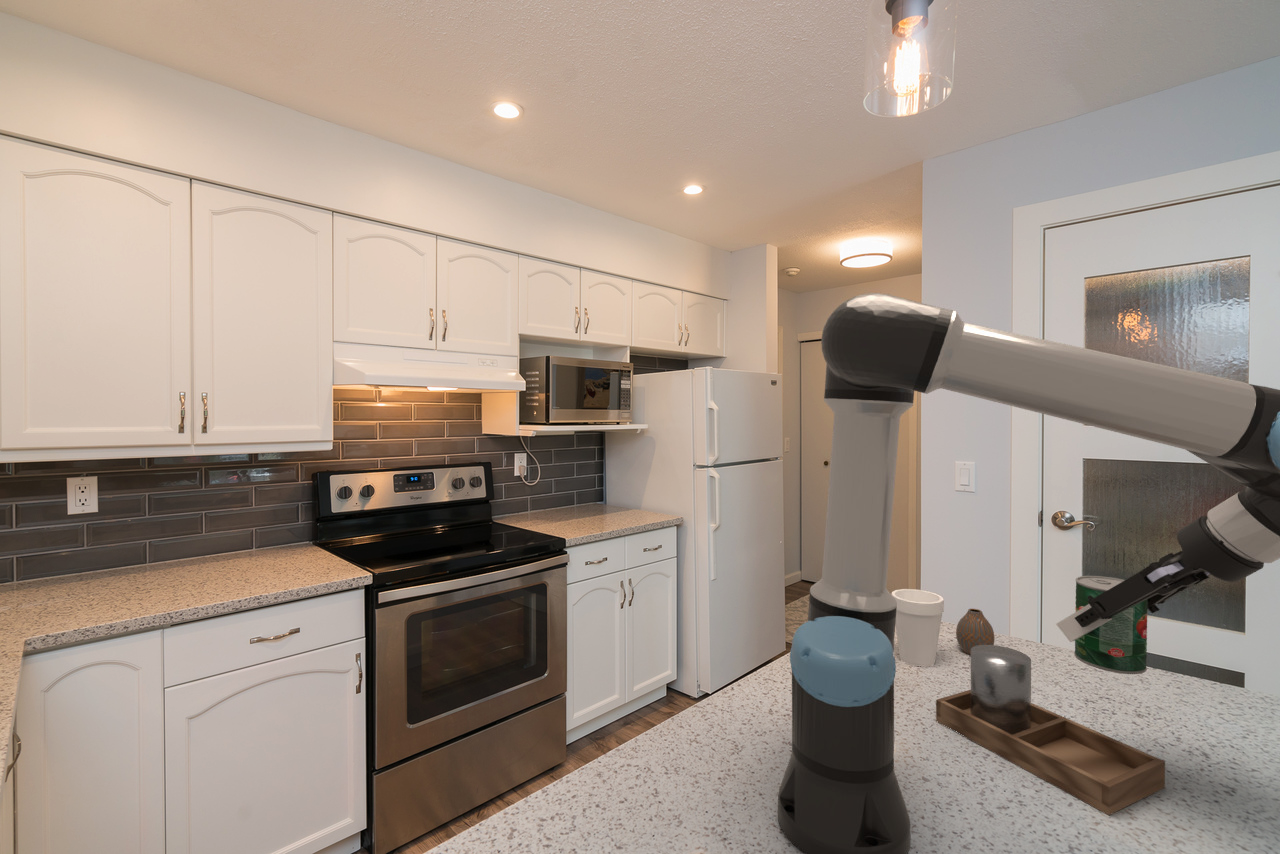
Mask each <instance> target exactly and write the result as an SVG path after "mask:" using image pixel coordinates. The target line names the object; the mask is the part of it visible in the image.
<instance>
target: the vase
mask: <svg viewBox="0 0 1280 854" xmlns="http://www.w3.org/2000/svg"><path fill="white" fill-rule="evenodd" d="M955 629H956V631H955V636H956V640H957V641H956V642H957V644H958V645H959V647H960V648H961V649H962V651H963V652H964V653H966V654H968V655H970V656H971V648H972V647H974V646H977V645H995V641H996V640H995V633H994V632H995V631H994V629H993V627H992V625H991V623H990V622H989V620H988V619H987V618H986V617H985V615H984V613H983V611H982V610H981V609H978V608H968V610H967V611H966V613H965V614H964V615H963V616H962V618H960V619H959V620H958V622H957V624H956V628H955Z"/></svg>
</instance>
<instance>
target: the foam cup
mask: <svg viewBox="0 0 1280 854" xmlns="http://www.w3.org/2000/svg"><path fill="white" fill-rule="evenodd" d="M891 595H892V596H893V597H894V598H895V600H896V601H897V609H896V623H895V634H896V639H897V640H896V641H897V646H898V647H897V648H898V652H899V653H898V655H899V658H900V661H901V660H902V661H901V662H903V663H904V662H905V663H904V664H906V663H907V664H906V665H909V664H910V665H909V666H912V665H914V666H913V667H917V666H919V668H930V667H933V666H934V665H935V663H936V658H937V651H938V644H939V639H940V631H941V624H942V618H943V613H944V610H945V605H944V601H945V600H944V597H943V596H941V595H939V594H937V593H935V592H931V591H928V590H922V589H915V588H912V589H911V588H902V589H895V590H893V591H892V592H891ZM932 665H933V666H932ZM920 666H921V667H920ZM929 666H930V667H929Z"/></svg>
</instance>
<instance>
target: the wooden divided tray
mask: <svg viewBox="0 0 1280 854" xmlns="http://www.w3.org/2000/svg"><path fill="white" fill-rule="evenodd" d="M935 704H936V706H935V708H936V709H935V710H936V711H935V713H936V715H935V717H936V719H935V722H937V721H938V722H937V723H938V724H940V723H941V725H942V724H943V726H944V725H945V726H944V727H946V726H947V727H946V728H948V727H949V728H948V729H950V728H951V729H952V731H953V730H955V731H957V732H958V733H957V732H956V733H957V734H959V733H960V734H959V735H961V734H962V735H964V736H965V737H964V736H963V737H964V738H966V737H967V738H966V739H968V738H969V739H968V740H970V741H972V742H973V741H974V743H975V744H978V745H979V746H981V747H983V748H985V749H987V750H988V751H990V752H992V753H994V754H996V755H998V756H1000V757H1001V758H1003V759H1005V760H1007V761H1009V762H1011V763H1012V764H1014V765H1016V766H1017V767H1019V766H1020V768H1021V769H1024V770H1025V771H1027V772H1028V773H1031V774H1032V775H1034V776H1036V777H1037V778H1039V779H1041V780H1043V781H1045V782H1047V783H1049V784H1051V785H1052V786H1055V787H1056V788H1058V789H1060V790H1062V791H1063V792H1066V793H1067V794H1069V795H1071V796H1073V797H1075V798H1076V799H1078V800H1080V801H1082V802H1084V803H1086V804H1088V805H1089V806H1091V807H1093V808H1095V809H1097V810H1098V811H1100V812H1102V813H1103V814H1106V815H1108V816H1111V815H1112V814H1114V813H1116V812H1119V811H1120V810H1122V809H1124V808H1127V807H1128V806H1131V805H1132V804H1134V803H1137V802H1138V801H1141V800H1143V799H1144V798H1146V797H1147V798H1148V797H1149V796H1151V795H1153V794H1155V793H1157V792H1159V791H1161V790H1163V789H1165V788H1166V785H1165V784H1166V761H1165V760H1163V759H1161V758H1158V757H1156V756H1153V755H1151V754H1149V753H1147V752H1145V751H1143V750H1140V749H1137V748H1135V747H1133V746H1130V745H1128V744H1126V743H1123V742H1121V741H1119V740H1117V739H1115V738H1114V737H1113V738H1112V737H1110V736H1108V735H1105V734H1103V733H1101V732H1099V731H1096V730H1094V729H1092V728H1090V727H1087V726H1085V725H1082V724H1081V723H1078V722H1076V721H1073V720H1072V719H1069V718H1066V717H1065V716H1062V715H1060V714H1058V713H1056V712H1053V711H1052V710H1048V709H1046V708H1044V707H1041V706H1039V705H1037V704H1034V703H1033V702H1031V728H1030V729H1027V730H1024V731H1021V732H1019V733H1016V734H1013V735H1011V734H1009V733H1007V732H1005V731H1003V730H1001V729H999V728H997V727H995V726H993V725H991V724H989V723H987V722H985V721H983V720H981V719H979V718H977V717H975V716H973V715H971V689H968V690H965V691H961V692H958V693H955V694H950V695H948V696H944V697H941V698H937V699H935ZM951 729H950V730H951ZM955 731H954V732H955ZM962 735H961V736H962Z"/></svg>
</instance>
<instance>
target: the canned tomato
mask: <svg viewBox="0 0 1280 854" xmlns="http://www.w3.org/2000/svg"><path fill="white" fill-rule="evenodd" d="M1125 580H1126V579H1122V578H1117V577H1111V576H1110V577H1109V576H1102V575H1083V576H1081V575H1080V576H1078V577H1076V578H1075V609H1074V610H1075V612H1077V611H1078V610H1080V609H1082V608H1083V607H1085V606H1086V605H1088V601H1089V600H1088V599H1087V597H1088V596H1090V595H1091V596H1093V597H1094V598H1095V597H1097V596H1098V595H1100V594H1102V593H1104V592H1105V591H1107V590H1109V589H1111V588H1112V587H1114V586H1116V585H1118V584H1119V583H1121V582H1123V581H1125ZM1147 605H1148V599H1146V600H1144V601H1142V602H1140V603H1138V604H1136V605H1134V606H1132V607H1131V608H1129V609H1127V610H1125V611H1123V612H1121V613H1119V614H1117V615H1115V616H1113V618H1111V620H1110V621H1108V622H1106V623H1104V624H1103V625H1101V626H1099V627H1097V628H1096V629H1094V630H1092V631H1090V632H1089V633H1087V634H1085V635H1083V636H1082V637H1080V638H1078V639H1076V640H1075V641H1074V657H1075V659H1077V660H1078V661H1080V662H1081V663H1082V664H1086V665H1087V666H1090V667H1093V668H1095V669H1099V670H1102V671H1106V672H1111V673H1115V674H1121V675H1141V674H1145V672H1147V669H1148V668H1147V653H1148V651H1147V650H1148V649H1147V646H1148V611H1149V610H1148V609H1147Z"/></svg>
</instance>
